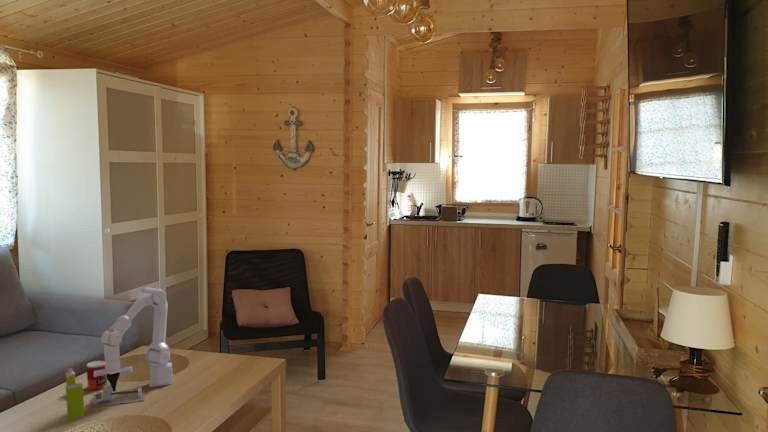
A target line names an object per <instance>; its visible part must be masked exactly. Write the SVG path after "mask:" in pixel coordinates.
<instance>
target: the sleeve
mask: <svg viewBox="0 0 768 432" xmlns="http://www.w3.org/2000/svg"><path fill="white" fill-rule="evenodd" d="M102 391H103V398H104V400H109V399H112V396H113V395H111V393H113V390H112V387H111V384H107V386H103V389H102Z"/></svg>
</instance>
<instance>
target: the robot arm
mask: <svg viewBox="0 0 768 432" xmlns="http://www.w3.org/2000/svg"><path fill="white" fill-rule="evenodd" d="M147 306H152V307H153V308H154V315H153V328H152V329H153V330H152V339H151V341H152V342H151V343H150V344H149V345H148V348H147V351H146V353H145V358H146V361H147V362H148V364H149V369H150V370H149V374H150V380H149V381H150V382H149V388H152V387H153V388H154V387H160V386H166V385H167V386H168V385H173V379H174V374H173V364H172V362H169V361H170V359H171V353H170V347H169V345H168V344H167V343H166V337H167V336H166V335H167V323H168V322H167V321H168V309H169V302H168V299H167V292H166V291H164V289H161V288H155V287H154V288H153V287H148V286H146V287H144V288H142V289H141V290H140V292H139V293H138V294H137V298H136V299H135V301H134V302H133V303H132V305H131V306H130V307H129V309H128V310H127V312H126V313H125V314H124V315H121V316H119V317H117V318H116V321H115V322H114V323H113V325H112V326H110V327H109V328H108V330H106V331H104V332H103V333H102V335H101V338H100V339H99V340H100V343H101V344H102V345H103V350H104V351H103V353H104V354H103V355H104V361H105V369H102V370H98V371H94V377H97V376H102V375H107V377H106V378H107V382H109V385H111V387H112V393H114V392H117V384H118V380H119V378H120V375H121V374H124V373H133V366H121V357H120V354H121V352H120V344H121V343H122V340H123V336H124V334H125V333H126V332H127V330H129V328H130V327H131V326H132V325H133V323H132V320H133V319H134V318H135V317H136V316H137V315H138V314H139V313H140V311H142V309H144V307H147Z"/></svg>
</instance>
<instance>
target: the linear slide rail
mask: <svg viewBox="0 0 768 432" xmlns="http://www.w3.org/2000/svg"><path fill="white" fill-rule="evenodd" d="M111 395H112V399H109V400H104V398H103V390H102V391H99V392H95V393H93V394H92V398H91V400H90V403H89V406H88V408H90V409H95V408H94V407H97V408H103V407H102V406H104V407H109V406H108V405H111V406H116V405H115V404H118V405H122V404H121V403H125V404H131V403H130V402H133V403H138V402H139V401H140V402H144V401H145V398H146V391H143V390H142V387H138V388H137V389H131V390H122V391H114V392H112V393H111Z"/></svg>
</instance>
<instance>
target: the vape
mask: <svg viewBox="0 0 768 432" xmlns="http://www.w3.org/2000/svg"><path fill="white" fill-rule="evenodd" d="M65 381H66V387H65V396H66V411H67V413H66V414H67V419H68V421H74V420H78V419H80V417H81V418H83V417H85V404H84V389H83V387H84V385H83V383H82V382H81V383H80V382H79V383H76V371H74V370H73V367H68V368H67V372H66V373H65Z"/></svg>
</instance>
